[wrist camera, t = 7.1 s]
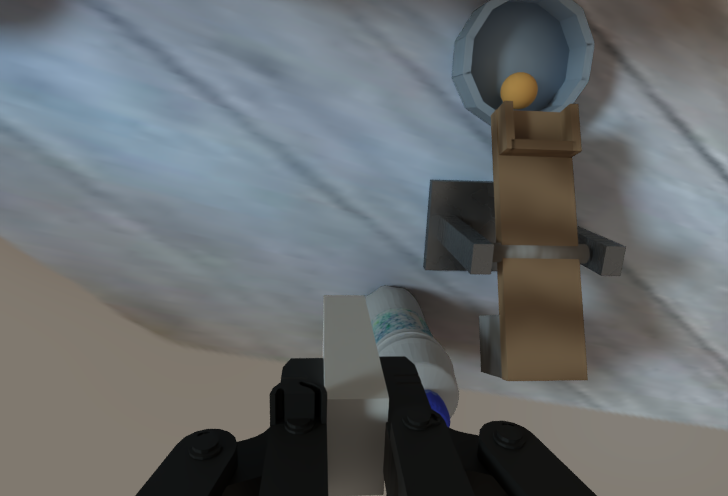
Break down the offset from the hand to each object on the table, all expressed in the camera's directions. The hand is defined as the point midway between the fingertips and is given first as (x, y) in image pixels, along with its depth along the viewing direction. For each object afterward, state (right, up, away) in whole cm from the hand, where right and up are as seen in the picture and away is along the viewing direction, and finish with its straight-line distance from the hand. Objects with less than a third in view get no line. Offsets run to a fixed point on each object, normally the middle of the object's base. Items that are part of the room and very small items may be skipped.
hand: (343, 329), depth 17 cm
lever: (+14, +3, +27) cm, 31 cm away
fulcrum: (+14, +5, +30) cm, 34 cm away
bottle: (+3, -3, +32) cm, 32 cm away
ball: (+15, +17, +25) cm, 34 cm away
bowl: (+15, +20, +26) cm, 36 cm away
